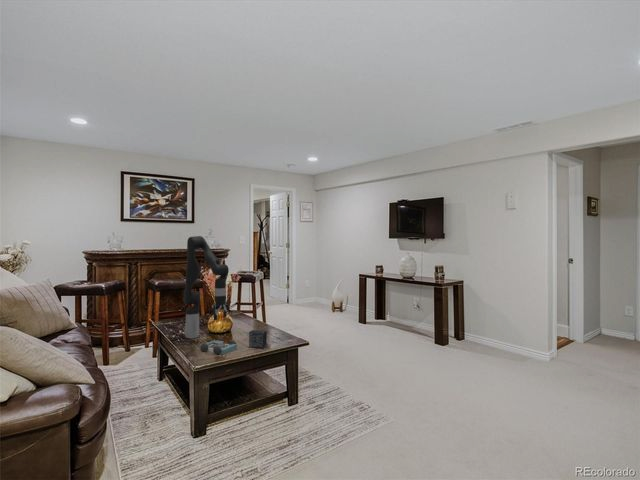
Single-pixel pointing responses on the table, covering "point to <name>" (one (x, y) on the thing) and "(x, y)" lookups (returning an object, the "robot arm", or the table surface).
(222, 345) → the block
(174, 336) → the table surface
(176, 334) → the table surface
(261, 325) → the table surface
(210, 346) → the chassis
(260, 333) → the small box
